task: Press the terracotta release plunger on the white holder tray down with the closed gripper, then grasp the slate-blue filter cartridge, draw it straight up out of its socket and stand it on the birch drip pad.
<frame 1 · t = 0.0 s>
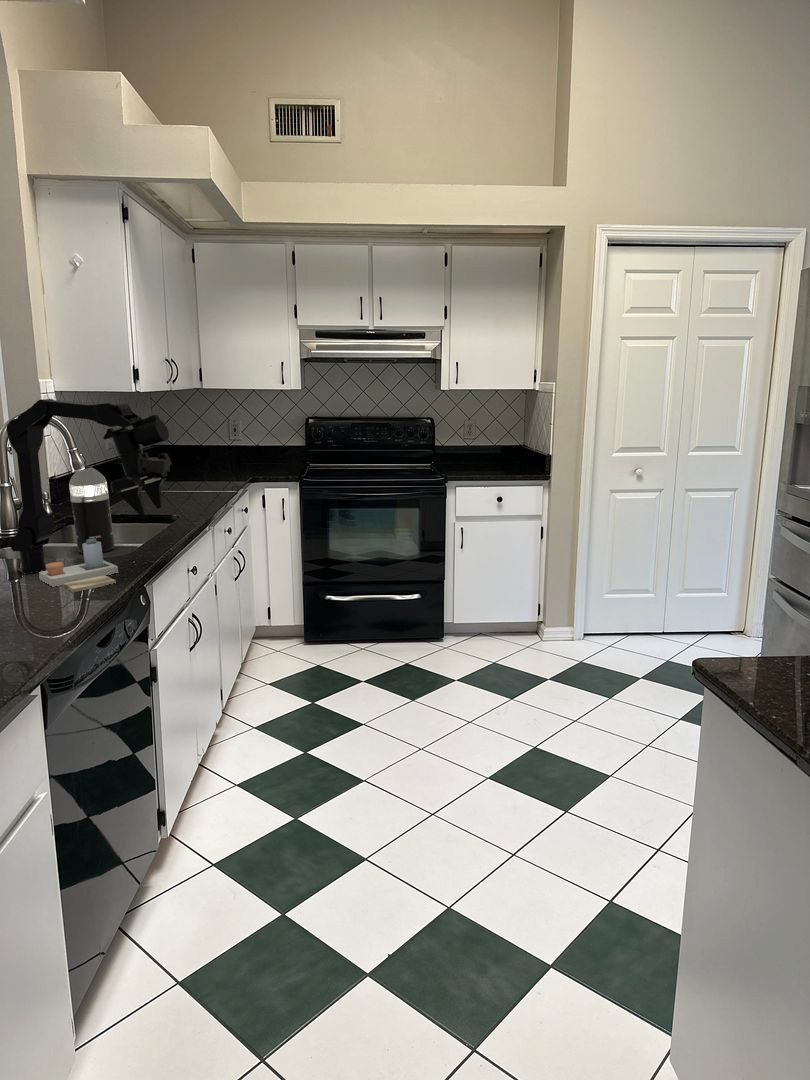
hand: (151, 511, 190), 15 cm above the table, tool pointing down, fingers open, 9 cm apart
white holder tray: (79, 576, 190), on the table
drip pad: (89, 585, 182), on the table
filter cartridge: (95, 573, 193), resting in white holder tray
black cylindrical canister: (96, 551, 218), on the table
release plunger: (55, 569, 186), point 3 cm above the table, slide at 0.0 cm
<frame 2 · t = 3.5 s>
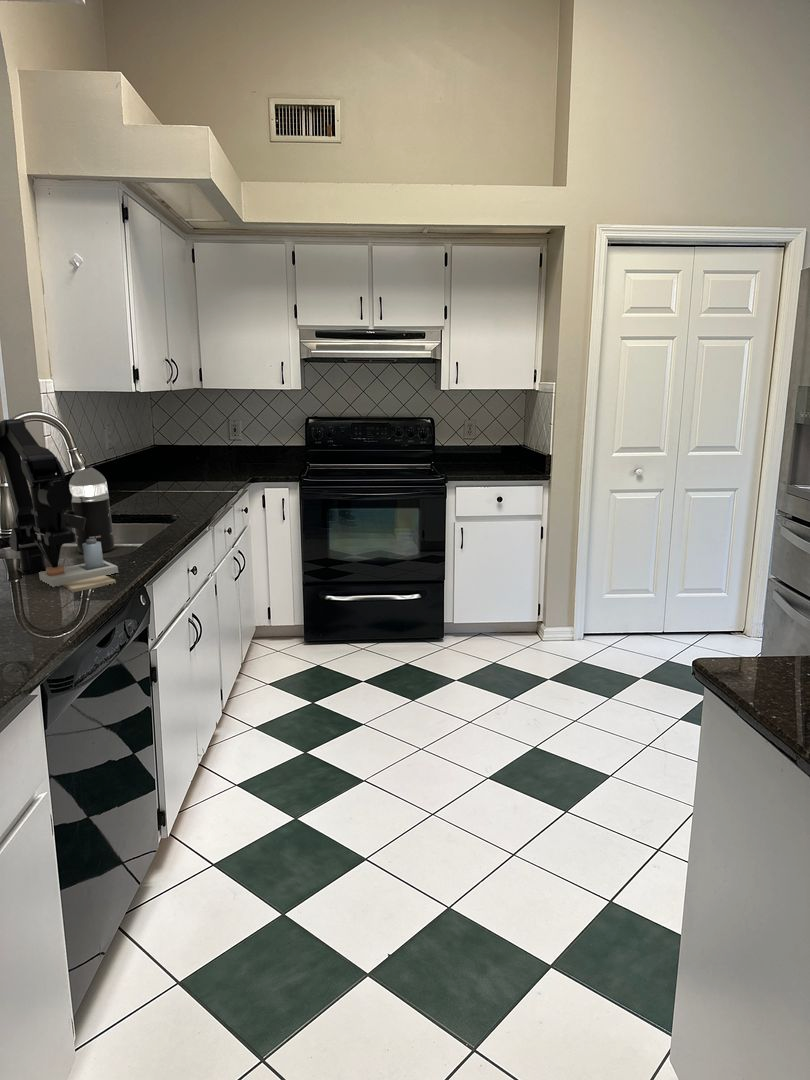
hand: (54, 567, 186), 4 cm above the table, tool pointing down, fingers closed, pressing on release plunger
release plunger: (55, 573, 186), point 2 cm above the table, slide at 0.8 cm, touching gripper
everything else where it was.
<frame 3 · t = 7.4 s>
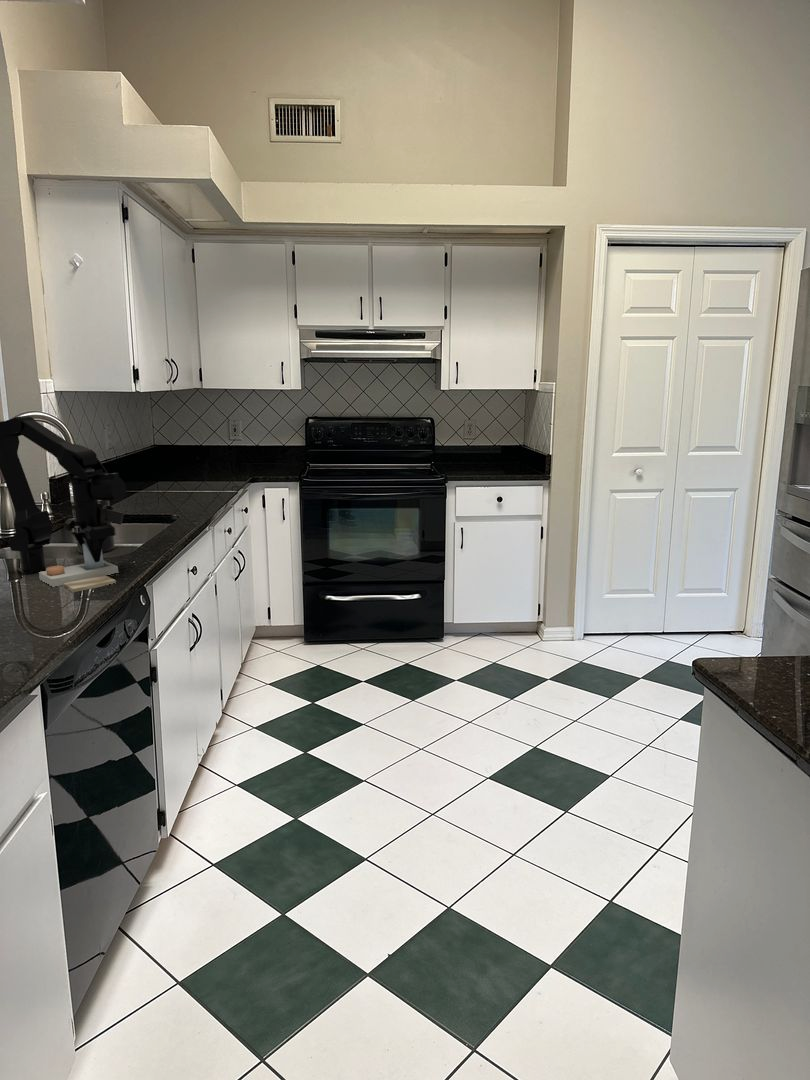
hand: (93, 560, 192), 4 cm above the table, tool pointing down, fingers closed on filter cartridge, 4 cm apart
filter cartridge: (95, 573, 193), resting in white holder tray, touching gripper
release plunger: (55, 573, 186), point 2 cm above the table, slide at 0.9 cm
everything else where it was.
when the fingers open (6 cm above the table, at t = 11.8 s): filter cartridge drops 2 cm, resting on drip pad.
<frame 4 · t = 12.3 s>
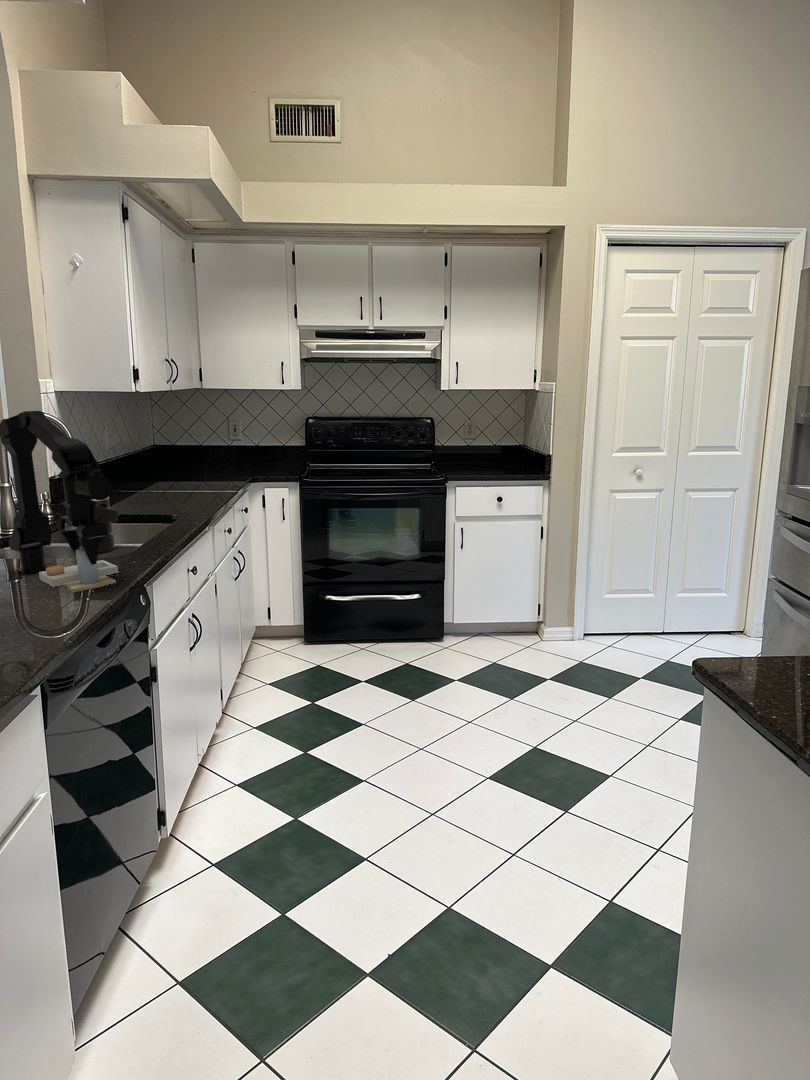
hand: (86, 561, 181), 6 cm above the table, tool pointing down, fingers open, 9 cm apart
filter cartridge: (89, 581, 182), point 1 cm above the table, touching drip pad
everything else where it was.
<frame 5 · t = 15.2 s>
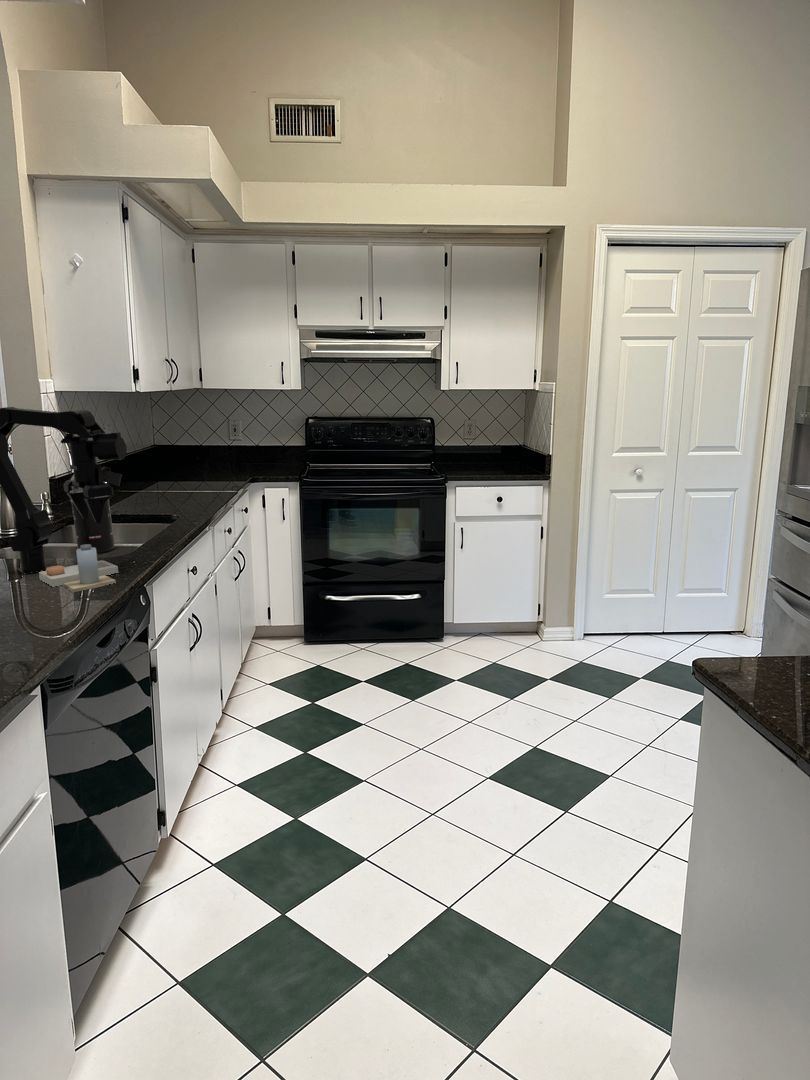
hand: (92, 521, 193), 13 cm above the table, tool pointing down, fingers open, 9 cm apart
nothing on the table moved.
at the end: release plunger slide at 0.9 cm; filter cartridge inside the target area on the drip pad (0.1 cm from its centre), point 0.8 cm above the drip pad's base; filter cartridge tilted 1° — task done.
